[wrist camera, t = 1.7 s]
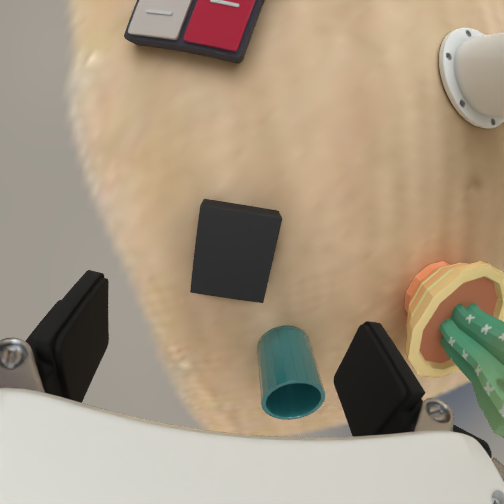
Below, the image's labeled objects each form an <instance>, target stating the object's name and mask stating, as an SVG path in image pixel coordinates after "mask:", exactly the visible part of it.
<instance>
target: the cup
mask: <svg viewBox="0 0 504 504" xmlns="http://www.w3.org/2000/svg"><path fill="white" fill-rule="evenodd" d="M258 365H259V378H260V392H261V404H262V408H263V410H264V411H265V412H266V413H267V414H268V415H270V416H272V417H274V418H278V419H288V420H290V419H297V418H301V417H304V416H307V415H309V414H311V413H313V412H315V411H316V410H317V409H318V408H319V407H320V406H321V405H322V403H323V402H324V400H325V391H324V387H323V384H322V380H321V377H320V373H319V370H318V366H317V363H316V360H315V356H314V353H313V349H312V346H311V343H310V340H309V337H308V336H307V334H306V333H305V332H304V331H302V330H301V329H299V328H296V327H292V326H282V327H277V328H274V329H272V330H270V331H268V332H267V333H265V334H264V335H263V336H262V338H261V339H260V341H259V343H258Z"/></svg>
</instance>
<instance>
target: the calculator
mask: <svg viewBox="0 0 504 504" xmlns="http://www.w3.org/2000/svg"><path fill="white" fill-rule="evenodd" d="M263 3H264V0H137V2H136V5H135V7H134V10H133V12H132V15H131V18H130V20H129V23H128V26H127V29H126V32H125V35H124V37H125V39H127V40H128V41H130V42H132V43H134V44H136V45H143V46H151V47H158V48H165V49H172V50H178V51H183V52H189V53H194V54H199V55H204V56H209V57H213V58H218V59H222V60H226V61H230V62H234V63H240V62H242V60H243V58H244V55H245V52H246V49H247V46H248V44H249V41H250V38H251V35H252V32H253V30H254V27H255V24H256V21H257V19H258V16H259V13H260V11H261V8H262V5H263Z"/></svg>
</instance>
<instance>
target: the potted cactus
mask: <svg viewBox="0 0 504 504" xmlns="http://www.w3.org/2000/svg"><path fill="white" fill-rule="evenodd" d="M404 308H405V310H406V312H407V314H408V318H407V326H406V329H407V341H406V347H405V350H406V354H407V357H408V360H409V361H410V363H411V364H412V366H413V367H414V369H415V371H416V372H417V374H418V375H422V376H430V377H438V378H439V377H442V376H444V375H447V374H449V373H452V372H454V371H457V370H459V369H460V370H461V371H462V372H463V373H464V374H465V375H466V377H467V378H468V379H469V380H470V381H471V382H472V384H473V387H474V391H475V394H476V397H477V401H478V404H479V406H480V408H481V410H482V411H483V413H484V415H485V417H486V418H487V420H488V422H489V424H490V426H491V428H492V430H493V431H494V433H495V434H497V435H499V436H501V437H503V438H504V322H503V321H504V273H503V272H502V271H500V270H499V269H497V268H495V267H494V266H492V265H490V264H488V263H485V262H482V261H478V262H475V263H471V264H467V263H457V264H453V265H451V264H449V263H447V262H444V261H441V262H437V263H433V264H429V265H428V266H426V267H425V268H424V269H423V270H422V271H420V272H419V273H418V274H417V275H415V277H414V278H413V280H412V282H411V284H410V286H409V287H408V289H407V291H406V294H405V305H404Z"/></svg>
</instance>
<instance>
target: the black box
mask: <svg viewBox="0 0 504 504" xmlns="http://www.w3.org/2000/svg"><path fill="white" fill-rule="evenodd" d="M281 221H282V218H281V216H280V213H279V211H275V210H269V209H264V208H258V207H252V206H246V205H240V204H233V203H227V202H221V201H214V200H207V199H204V200H203V202H202V204H201V206H200V214H199V221H198V229H197V237H196V245H195V254H194V262H193V272H192V281H191V291H190V292H191V293H198V294H204V295H211V296H217V297H224V298H231V299H238V300H245V301H253V302H260V303H263V300H264V296H265V292H266V287H267V283H268V279H269V274H270V270H271V266H272V261H273V257H274V252H275V248H276V243H277V239H278V234H279V230H280V225H281Z"/></svg>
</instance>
